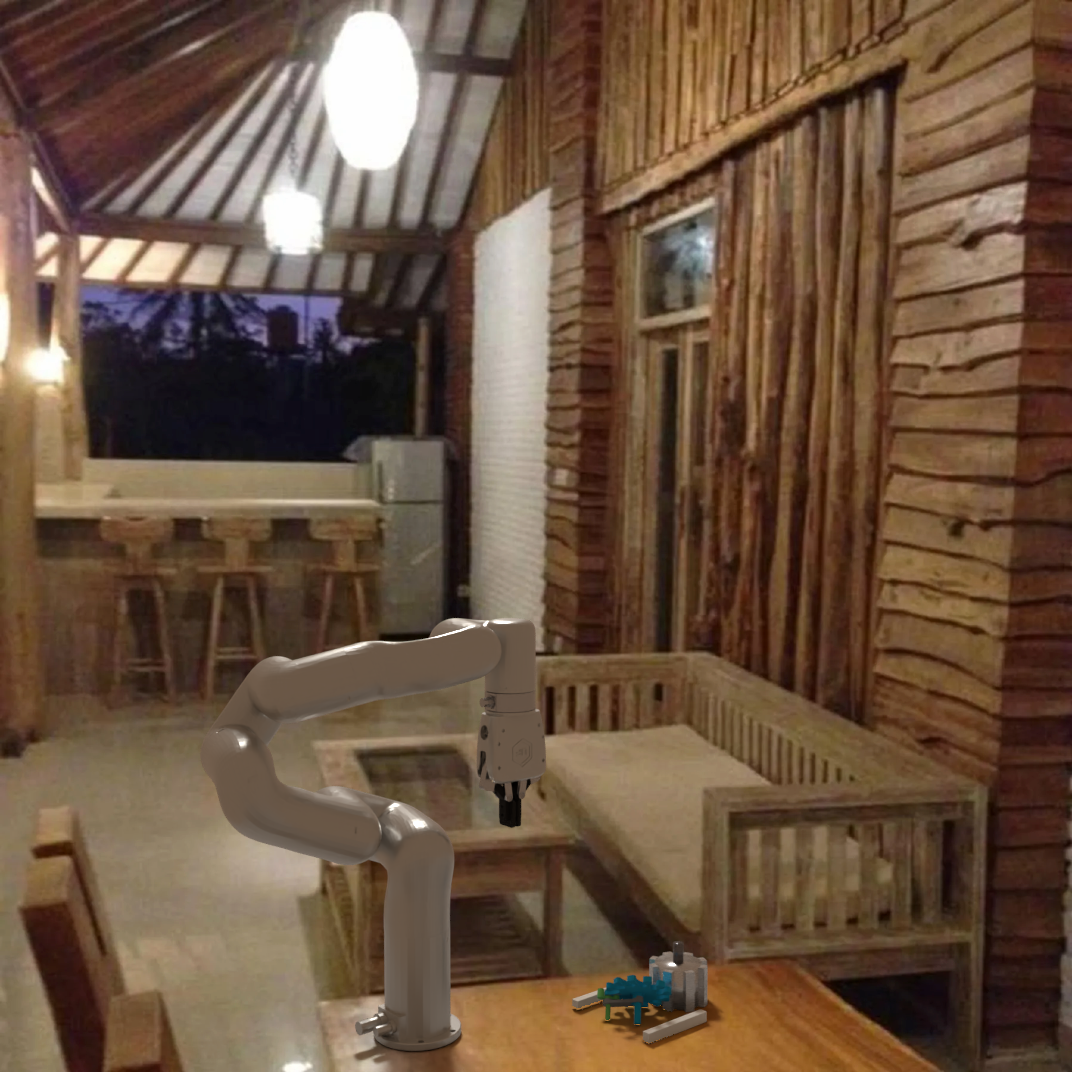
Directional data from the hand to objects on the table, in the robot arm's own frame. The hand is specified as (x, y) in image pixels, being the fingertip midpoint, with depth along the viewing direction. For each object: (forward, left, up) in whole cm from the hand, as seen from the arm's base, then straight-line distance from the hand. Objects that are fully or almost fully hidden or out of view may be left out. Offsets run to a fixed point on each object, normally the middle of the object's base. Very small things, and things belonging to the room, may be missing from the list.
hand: (510, 824), depth 196 cm
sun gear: (+24, -12, -29) cm, 39 cm away
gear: (+14, -12, -29) cm, 35 cm away
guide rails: (+15, -12, -29) cm, 35 cm away
